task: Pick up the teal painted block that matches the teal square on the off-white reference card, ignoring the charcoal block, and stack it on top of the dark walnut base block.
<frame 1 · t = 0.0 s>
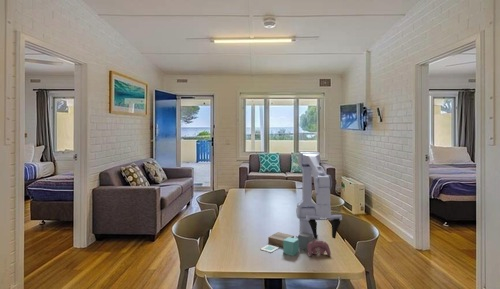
hand: (324, 238, 127), 11 cm above the table, tool pointing down, fingers open, 7 cm apart
reference card: (269, 248, 143), on the table
pink arch: (318, 255, 136), on the table
walnut base: (281, 242, 151), on the table
teal block: (290, 252, 138), on the table
charcoal block: (305, 247, 145), on the table
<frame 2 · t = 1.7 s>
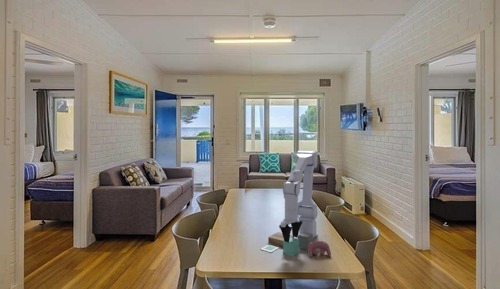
hand: (291, 239, 138), 6 cm above the table, tool pointing down, fingers open, 7 cm apart
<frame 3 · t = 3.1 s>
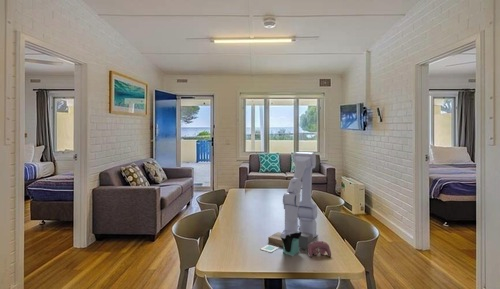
hand: (290, 249, 138), 1 cm above the table, tool pointing down, fingers closed on teal block, 5 cm apart
teal block: (290, 252, 138), on the table, touching gripper
everything else where it was.
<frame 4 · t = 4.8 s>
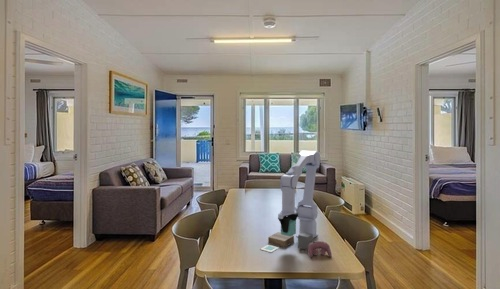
hand: (288, 230, 141), 9 cm above the table, tool pointing down, fingers closed on teal block, 5 cm apart
teal block: (288, 233, 141), point 7 cm above the table, touching gripper
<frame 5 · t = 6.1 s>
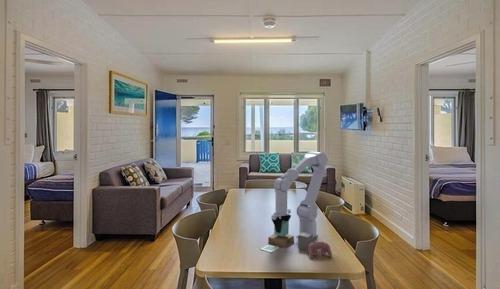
hand: (281, 230, 150), 6 cm above the table, tool pointing down, fingers closed on teal block, 5 cm apart
teal block: (281, 234, 150), point 4 cm above the table, touching gripper
when the fingers open (6 cm above the table, at t = 6.8 s): teal block drops 1 cm, resting on walnut base.
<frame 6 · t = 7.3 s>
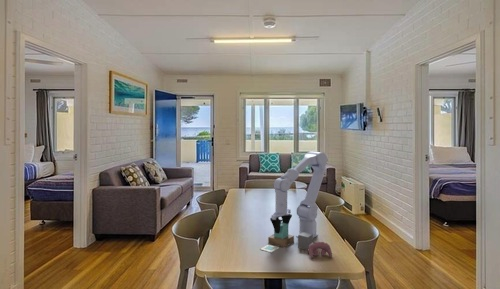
hand: (281, 230, 150), 6 cm above the table, tool pointing down, fingers open, 7 cm apart
teal block: (281, 236, 151), point 3 cm above the table, touching walnut base
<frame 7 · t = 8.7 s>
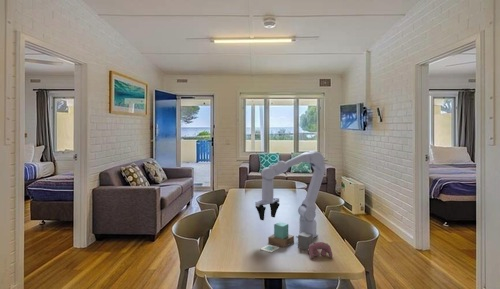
hand: (267, 218, 155), 10 cm above the table, tool pointing down, fingers open, 7 cm apart
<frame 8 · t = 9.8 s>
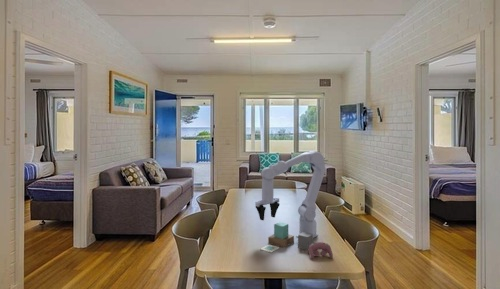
hand: (267, 218, 155), 10 cm above the table, tool pointing down, fingers open, 7 cm apart
at the end: teal block 0.0 cm off-centre on the walnut base, point 3.0 cm above the walnut base's base; teal block tilted 0°; teal block touching walnut base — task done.
